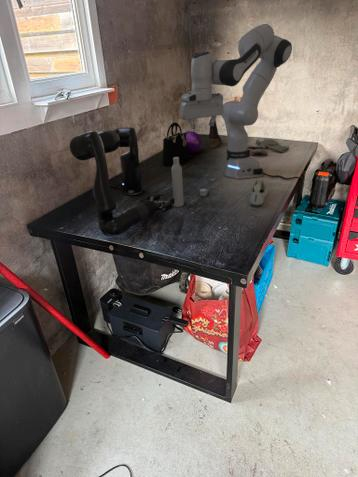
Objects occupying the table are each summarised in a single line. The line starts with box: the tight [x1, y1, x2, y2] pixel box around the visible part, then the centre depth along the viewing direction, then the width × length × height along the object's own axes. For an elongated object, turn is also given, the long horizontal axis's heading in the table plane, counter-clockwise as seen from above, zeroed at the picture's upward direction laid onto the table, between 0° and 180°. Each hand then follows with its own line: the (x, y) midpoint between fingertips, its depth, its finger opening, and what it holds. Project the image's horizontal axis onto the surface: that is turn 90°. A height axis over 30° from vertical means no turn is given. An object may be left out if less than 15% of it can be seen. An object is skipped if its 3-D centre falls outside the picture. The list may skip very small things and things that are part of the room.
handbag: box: [162, 122, 190, 167], centre depth 211 cm, size 21×9×25 cm, turn 148°
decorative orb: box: [184, 130, 202, 154], centre depth 230 cm, size 15×15×15 cm
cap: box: [199, 188, 208, 197], centre depth 166 cm, size 4×4×2 cm
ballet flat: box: [249, 179, 269, 207], centre depth 158 cm, size 8×24×8 cm, turn 163°
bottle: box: [170, 157, 185, 208], centre depth 152 cm, size 5×5×23 cm
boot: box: [208, 118, 222, 149], centre depth 245 cm, size 9×24×20 cm, turn 168°
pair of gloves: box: [247, 138, 290, 156], centre depth 228 cm, size 30×26×5 cm
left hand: (166, 198), depth 149 cm, fingers open, 8 cm apart
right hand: (202, 127), depth 150 cm, fingers open, 8 cm apart
